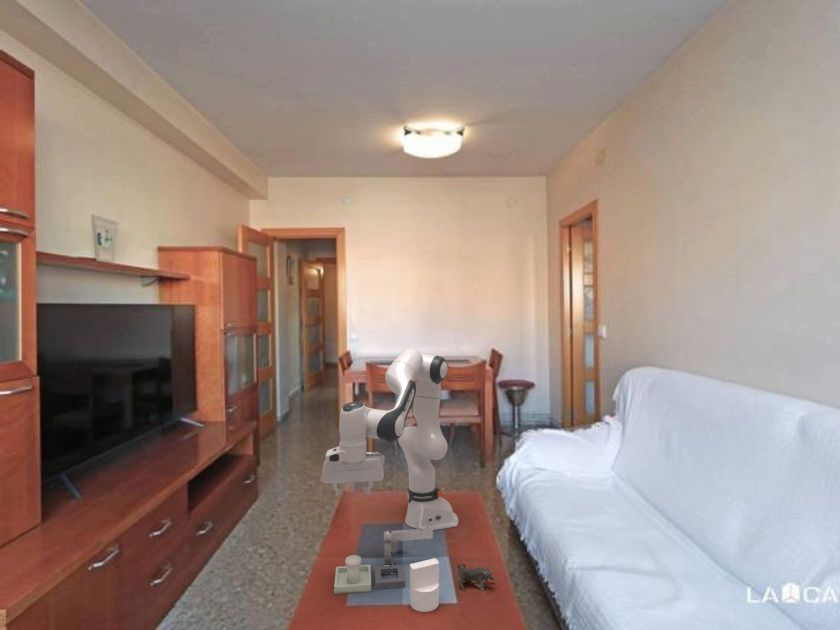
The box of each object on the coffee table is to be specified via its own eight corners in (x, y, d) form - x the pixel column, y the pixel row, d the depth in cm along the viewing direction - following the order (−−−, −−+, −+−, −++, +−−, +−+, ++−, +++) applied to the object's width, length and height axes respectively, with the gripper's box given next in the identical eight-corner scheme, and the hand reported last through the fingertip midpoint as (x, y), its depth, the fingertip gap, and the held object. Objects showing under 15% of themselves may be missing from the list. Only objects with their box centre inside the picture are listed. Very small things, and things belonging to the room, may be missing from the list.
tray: (370, 570, 158) (370, 564, 158) (371, 591, 146) (371, 584, 146) (336, 573, 157) (336, 566, 157) (334, 594, 145) (334, 587, 145)
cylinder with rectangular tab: (416, 615, 135) (416, 574, 135) (405, 597, 144) (405, 559, 143) (444, 607, 139) (444, 568, 139) (431, 590, 147) (431, 553, 147)
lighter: (385, 552, 170) (385, 531, 170) (386, 550, 172) (386, 528, 171) (404, 553, 169) (404, 532, 169) (404, 551, 171) (404, 530, 170)
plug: (361, 575, 154) (361, 554, 154) (361, 584, 149) (361, 563, 149) (345, 576, 154) (345, 555, 154) (344, 585, 149) (344, 564, 148)
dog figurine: (457, 591, 147) (457, 568, 147) (457, 580, 153) (457, 558, 153) (495, 592, 146) (495, 569, 146) (494, 582, 152) (494, 559, 152)
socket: (400, 559, 165) (401, 538, 165) (405, 587, 149) (405, 563, 149) (374, 561, 164) (374, 539, 164) (375, 589, 148) (375, 565, 148)
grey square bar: (384, 542, 161) (384, 534, 161) (383, 538, 164) (383, 530, 164) (433, 539, 164) (433, 531, 164) (431, 535, 166) (431, 527, 166)
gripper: (384, 448, 155) (384, 489, 155) (322, 450, 153) (322, 492, 153) (385, 454, 149) (385, 497, 149) (320, 457, 146) (320, 500, 147)
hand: (352, 494), depth 151 cm, fingers open, 8 cm apart
